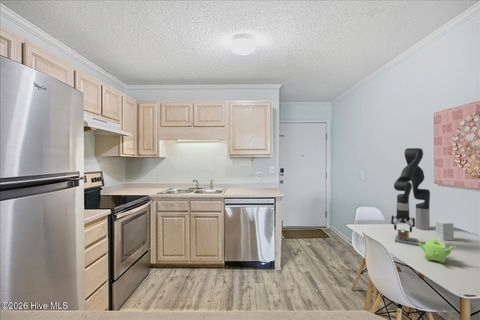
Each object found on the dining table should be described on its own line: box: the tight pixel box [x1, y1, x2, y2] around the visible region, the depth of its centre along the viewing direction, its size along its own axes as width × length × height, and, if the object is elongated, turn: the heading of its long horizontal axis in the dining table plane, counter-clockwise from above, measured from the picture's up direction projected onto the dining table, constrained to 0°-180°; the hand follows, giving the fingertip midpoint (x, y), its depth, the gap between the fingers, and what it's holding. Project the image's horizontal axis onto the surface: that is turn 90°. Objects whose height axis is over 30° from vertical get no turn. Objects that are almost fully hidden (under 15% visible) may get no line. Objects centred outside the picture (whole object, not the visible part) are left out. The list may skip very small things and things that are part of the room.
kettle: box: [418, 238, 456, 264], centre depth 141 cm, size 15×14×11 cm
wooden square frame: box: [397, 229, 410, 240], centre depth 171 cm, size 6×6×4 cm
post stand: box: [394, 228, 419, 247], centre depth 171 cm, size 13×13×8 cm
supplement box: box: [435, 220, 455, 241], centre depth 174 cm, size 7×7×13 cm
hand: (402, 231), depth 171 cm, fingers open, 8 cm apart
